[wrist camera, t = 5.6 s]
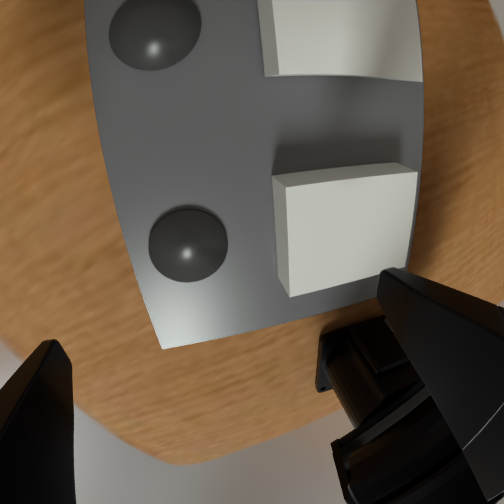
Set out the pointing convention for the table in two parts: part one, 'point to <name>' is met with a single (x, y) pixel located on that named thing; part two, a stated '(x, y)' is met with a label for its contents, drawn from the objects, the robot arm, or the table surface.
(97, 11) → the control panel
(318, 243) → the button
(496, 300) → the table surface
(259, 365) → the table surface
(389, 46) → the middle button
